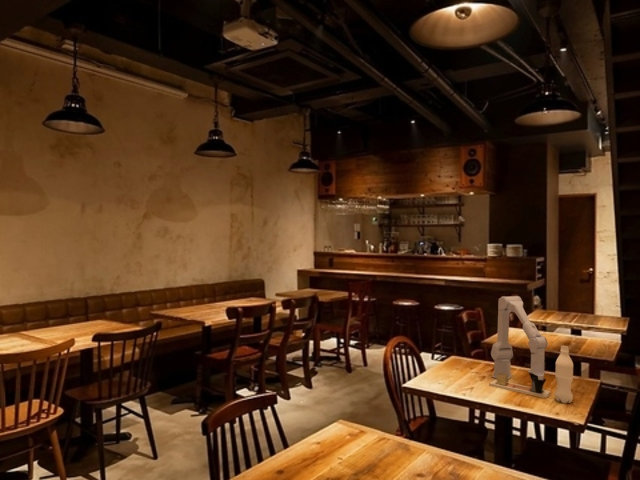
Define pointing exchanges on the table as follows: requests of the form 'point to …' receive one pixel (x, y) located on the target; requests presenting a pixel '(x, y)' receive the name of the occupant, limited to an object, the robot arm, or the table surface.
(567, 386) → the water bottle
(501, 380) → the brass block
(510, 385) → the beige rectangular frame
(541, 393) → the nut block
